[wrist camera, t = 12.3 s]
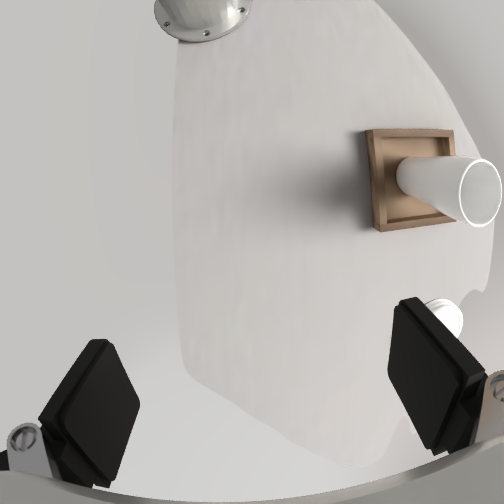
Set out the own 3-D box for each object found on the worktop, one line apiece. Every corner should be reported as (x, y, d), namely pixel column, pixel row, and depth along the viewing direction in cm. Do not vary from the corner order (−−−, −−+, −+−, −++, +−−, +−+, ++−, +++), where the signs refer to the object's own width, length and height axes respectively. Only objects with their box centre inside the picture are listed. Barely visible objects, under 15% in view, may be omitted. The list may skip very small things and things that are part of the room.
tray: (365, 130, 35) (372, 129, 33) (443, 130, 34) (453, 130, 32) (373, 227, 39) (380, 232, 37) (447, 217, 39) (456, 221, 36)
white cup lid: (417, 356, 47) (425, 367, 44) (400, 321, 44) (409, 333, 41) (458, 323, 45) (468, 333, 42) (446, 286, 43) (457, 295, 39)
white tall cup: (381, 163, 36) (449, 174, 21) (419, 143, 35) (493, 147, 20) (400, 208, 38) (467, 240, 23) (436, 187, 37) (508, 210, 22)
